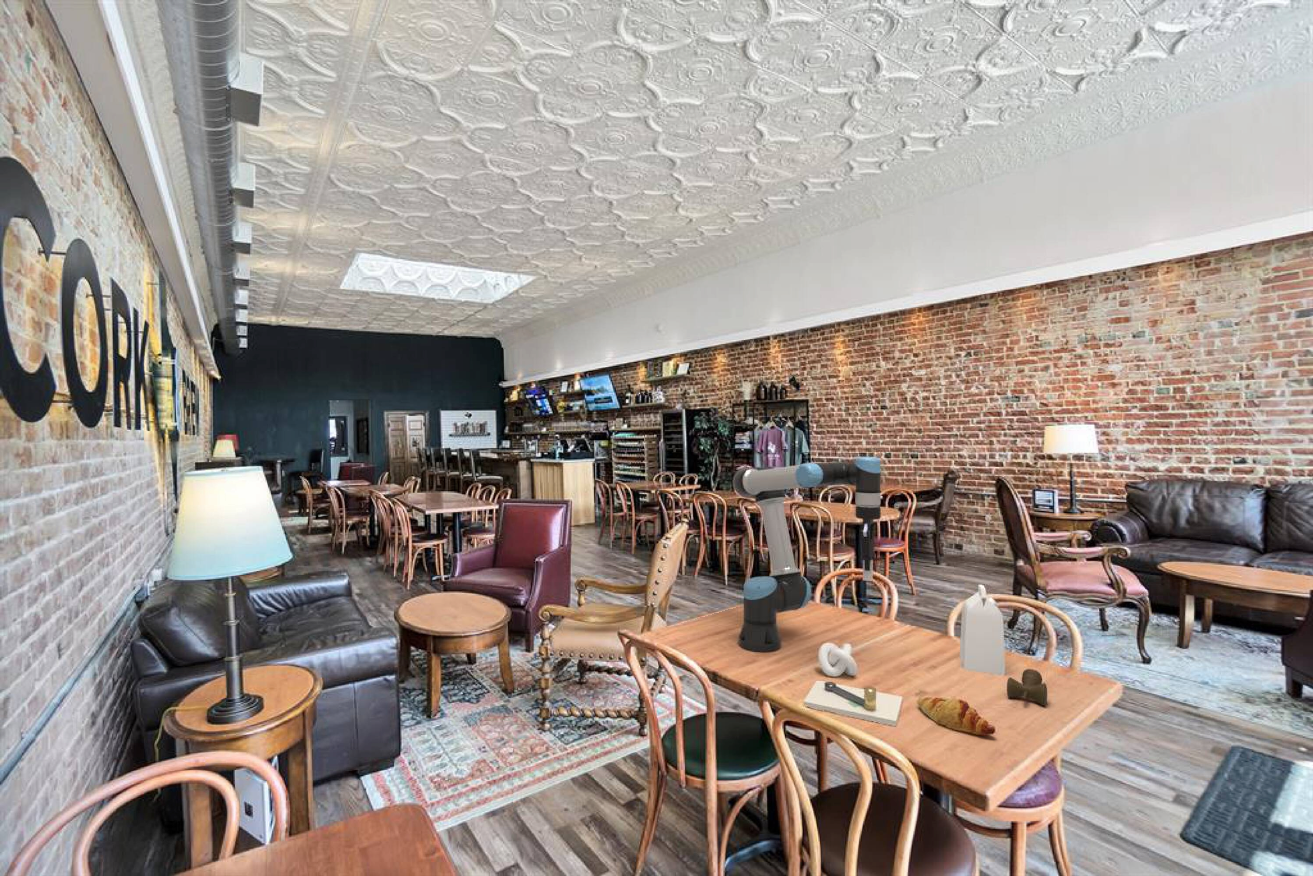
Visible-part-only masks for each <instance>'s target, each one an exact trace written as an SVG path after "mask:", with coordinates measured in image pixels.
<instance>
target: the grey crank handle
mask: <svg viewBox="0 0 1313 876" xmlns="http://www.w3.org/2000/svg"><path fill="white" fill-rule="evenodd" d="M824 682H825V689H826V690H830V691H834V692H836V693H838V694H840V695H842V696H844V697H846V698H848V699H850V700H853V701H855V702H857V703H859V704H861V705H863V706H864V707H865V708H866V709H869V710H875V709H876V692H877V689H876V688H875V687H873V686H865V687H864V688H863V689H864V699H863V698H861V697H858V696H856V695H854V694H852V693H850V692H848V691H846V690H844V689H841V688H839V687H837V686H836V684H837V683H835V682H832V681H824Z"/></svg>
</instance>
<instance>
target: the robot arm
mask: <svg viewBox="0 0 1313 876" xmlns="http://www.w3.org/2000/svg"><path fill="white" fill-rule="evenodd" d="M881 466H882V465H881V459H880V458H879V457H877V456H857V457H856V458H855V462H847V461H838V460H837V461H829V462H805V463H802V464H797V465H789V466H782V467H778V466H771V465H770V466H769V465H768V466H755V467H754V466H753V467H751V466H750V467H744V468H741V469H739V470H737V472H735V474H734V476H733V477H732V478H733V480H732V486H733V489H734V491H735V493H737V494H738V495H739V496H740V497H742V498H745V499H746V498H747V499H748V498H749V499H754V500H755V505H757V506H759V508H760V512H761V515H762V516H761V517H762V522H763V527H764V531H765V538H766V542H767V548H768V549H767V550H768V553H769V558H770V564H771V568H772V570H771V572H770V573H769V576H765V575H764V576H755V577H751V578H749V579H747V580H746V581H745V582H744V585H743V591H742V596H743V623H742V626H741V629H740V632H739V635H738V646H740V647H741V649H744V650H747V651H751V652H759V653H770V652H775V651H778V650H780V649H781V648H782V638H781V637H782V636H781V635H780V631H779V628H778V625H777V614H778V613H785V612H789V611H798V610H799V609H802V608H804V607H807V606H808V604H809V602H810V600H811V596H812V587H811V583H810V582H809V580H808V579H807V578H806V577H804V576H803V575H802V571H801V570H800V569H799V568H797V566H796V563H795V558H794V553H793V547H792V543H791V537H790V533H789V528H788V523H787V518H786V514H785V513H786V511H785V507H784V502H785V501H786V499H787V496H786V495H787V494H788V492H789V490H790V489H791V490H792V489H800V488H801V489H802V488H813V487H826V486H827V487H829V486H853V487H855V497H854V498H855V499H854V500H855V518H857V519H859V520H862V523H861V524H860V532H859V533H860V537H861V538H860V539H861V540H860V541H861V557H860V560H862V581H866V582H867V581H868V582H873V581H874V580H873V578H874V577H873V576H874V574H873V569H874V568H873V567H874V566H873V565H874V564H873V563H874V562H873V561H874V560H876V556H874V555H875V553H874V549H875V529H876V524H875V523H874V520H880V518H881V513H882V511H881V509H882V508H881V507H880V506H881V502H882V501H881V500H883V499H884V498H883V496H882V495H881V484H882V483H881V480H882V479H881V478H882V467H881Z"/></svg>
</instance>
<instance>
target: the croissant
mask: <svg viewBox="0 0 1313 876" xmlns="http://www.w3.org/2000/svg"><path fill="white" fill-rule="evenodd" d="M916 704H917V705H918V707H919V708H920V709H921V711H922V713H924V714H925V715H927V716H928V717H929V718H930V719H932V720H933V721H934V722H935V723H936V724H939V725H942V726H944V727H946V728H948V729H951V730H955V731H959V732H965V733H968V734H970V735H971V734H972V735H978V736H989V735H994V734H995V733H996V727H995V726H994V725H992V724H990V723H989V722H988V721H987V720H986V719H985V718H984V717H981V716H980V715H979V713H978V712H977V710H976V709H974V708H972V707H970V705H969V703H968V702H967V701H966V700H964V699H962V698H944V697H935V698H934V697H923V698H921V697H919V698H918V699H917V701H916Z"/></svg>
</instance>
